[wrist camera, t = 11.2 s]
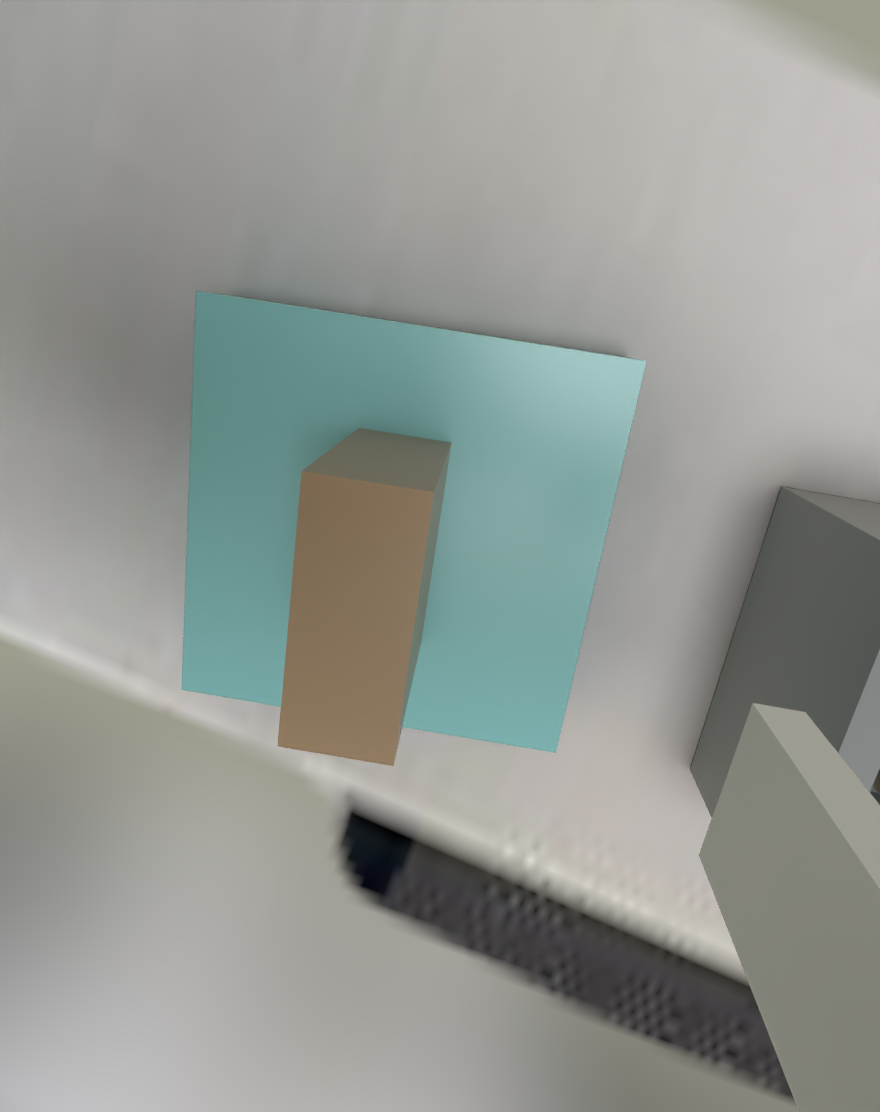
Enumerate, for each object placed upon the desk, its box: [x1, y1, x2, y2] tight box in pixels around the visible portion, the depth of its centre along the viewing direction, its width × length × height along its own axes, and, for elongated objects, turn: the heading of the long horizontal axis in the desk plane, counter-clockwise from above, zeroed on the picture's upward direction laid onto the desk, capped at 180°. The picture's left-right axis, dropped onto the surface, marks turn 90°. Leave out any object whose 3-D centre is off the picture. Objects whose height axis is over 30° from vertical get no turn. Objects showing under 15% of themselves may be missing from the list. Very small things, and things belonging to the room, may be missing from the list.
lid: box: [182, 291, 646, 766], centre depth 18 cm, size 12×12×8 cm
